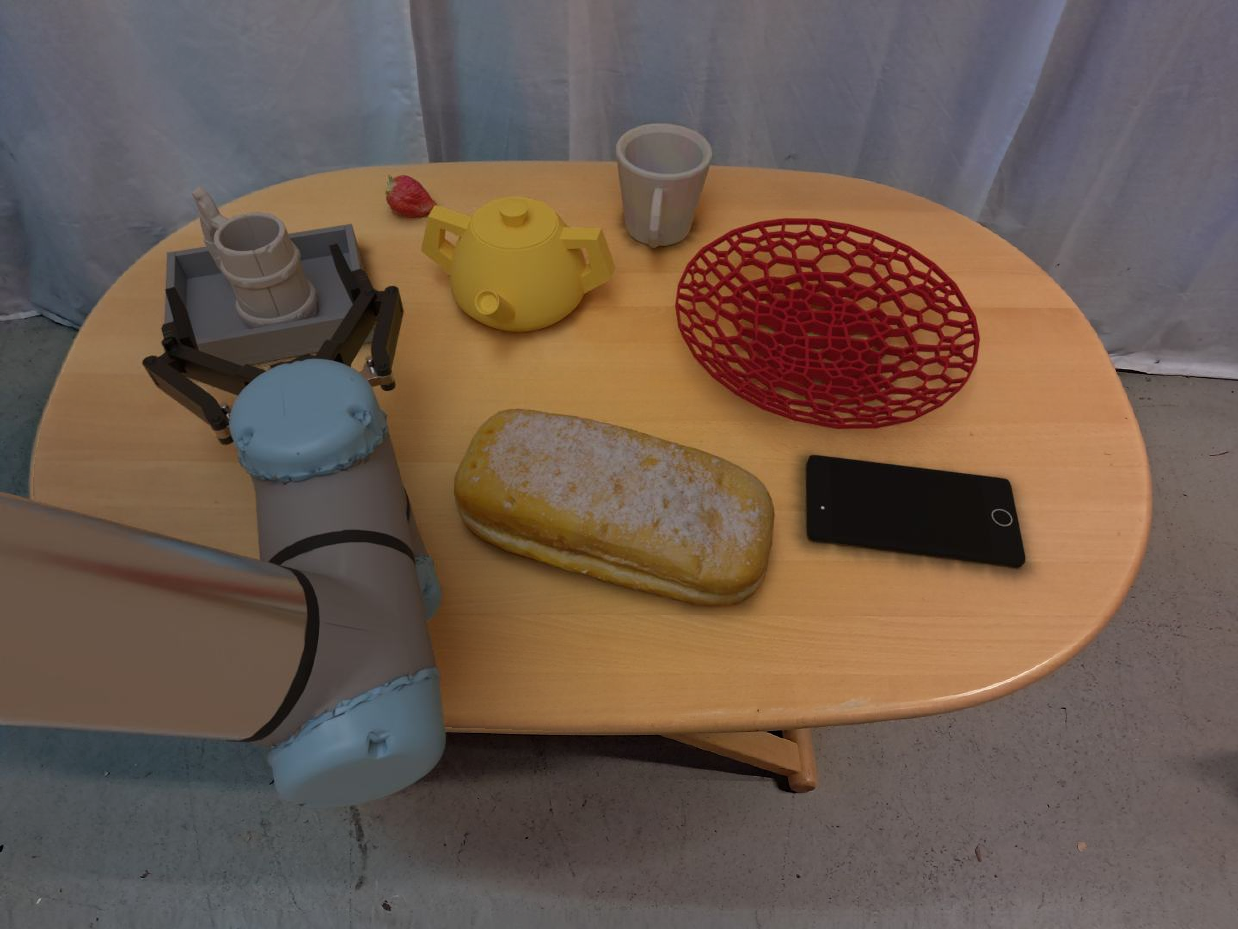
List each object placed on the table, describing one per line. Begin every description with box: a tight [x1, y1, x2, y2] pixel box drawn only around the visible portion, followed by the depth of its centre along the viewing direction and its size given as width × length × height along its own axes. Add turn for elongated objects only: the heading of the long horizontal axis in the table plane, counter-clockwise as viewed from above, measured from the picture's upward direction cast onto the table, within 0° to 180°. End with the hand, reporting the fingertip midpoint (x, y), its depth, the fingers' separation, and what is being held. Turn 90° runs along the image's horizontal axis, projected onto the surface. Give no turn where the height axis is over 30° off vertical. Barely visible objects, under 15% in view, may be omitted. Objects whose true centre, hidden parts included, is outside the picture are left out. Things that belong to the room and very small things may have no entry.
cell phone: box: [805, 454, 1026, 569], centre depth 70 cm, size 9×18×1 cm, turn 82°
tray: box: [163, 223, 375, 366], centre depth 81 cm, size 19×15×4 cm
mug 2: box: [615, 122, 714, 249], centre depth 88 cm, size 10×15×10 cm
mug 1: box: [191, 185, 317, 329], centre depth 77 cm, size 8×12×12 cm, turn 56°
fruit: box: [384, 173, 438, 218], centre depth 92 cm, size 4×6×5 cm
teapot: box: [420, 196, 616, 333], centre depth 80 cm, size 20×18×11 cm
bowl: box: [674, 217, 981, 430], centre depth 80 cm, size 29×30×5 cm
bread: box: [453, 408, 776, 608], centre depth 65 cm, size 13×26×8 cm, turn 76°
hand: (258, 277), depth 69 cm, fingers open, 13 cm apart
